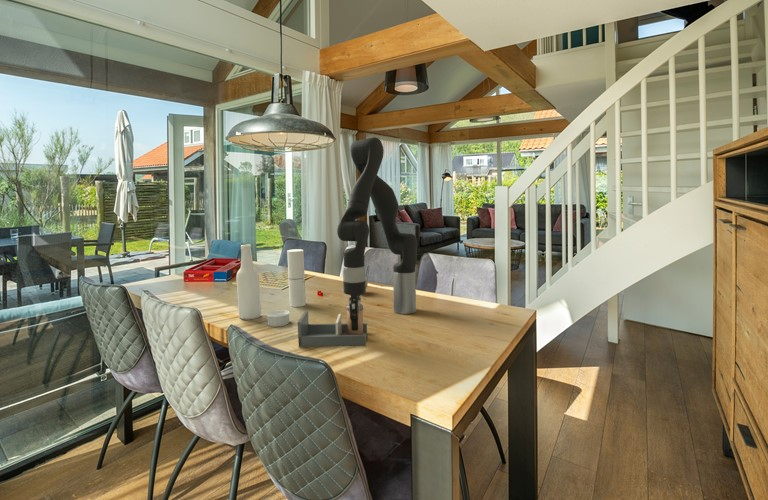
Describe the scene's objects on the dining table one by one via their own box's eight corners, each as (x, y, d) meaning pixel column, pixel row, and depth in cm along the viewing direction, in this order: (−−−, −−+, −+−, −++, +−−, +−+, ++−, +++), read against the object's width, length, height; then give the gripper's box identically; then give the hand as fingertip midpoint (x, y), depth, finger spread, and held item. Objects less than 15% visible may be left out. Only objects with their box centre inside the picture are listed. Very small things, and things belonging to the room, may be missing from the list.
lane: (366, 332, 144) (366, 309, 143) (365, 346, 131) (364, 321, 130) (306, 333, 144) (305, 310, 143) (298, 347, 131) (297, 322, 130)
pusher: (341, 332, 143) (341, 313, 142) (338, 343, 133) (337, 322, 132) (339, 332, 143) (338, 313, 142) (336, 343, 133) (335, 323, 132)
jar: (363, 332, 140) (363, 303, 139) (363, 338, 135) (362, 308, 133) (348, 332, 140) (347, 303, 139) (346, 338, 135) (345, 308, 133)
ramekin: (271, 329, 149) (271, 317, 149) (263, 323, 157) (262, 312, 156) (293, 324, 155) (293, 313, 154) (284, 318, 162) (284, 308, 161)
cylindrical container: (286, 304, 181) (284, 250, 178) (300, 301, 186) (297, 248, 183) (295, 307, 176) (292, 252, 173) (308, 304, 181) (306, 250, 178)
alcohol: (266, 315, 166) (261, 244, 161) (248, 321, 158) (243, 246, 154) (252, 312, 171) (248, 242, 166) (234, 317, 163) (229, 245, 159)
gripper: (364, 283, 128) (365, 334, 130) (366, 274, 142) (367, 320, 144) (341, 284, 128) (342, 334, 130) (345, 275, 142) (346, 320, 144)
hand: (355, 327), depth 137 cm, fingers closed on jar, 5 cm apart
